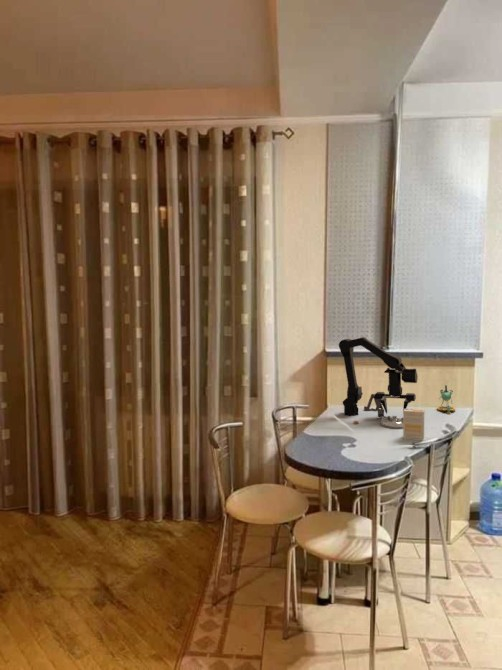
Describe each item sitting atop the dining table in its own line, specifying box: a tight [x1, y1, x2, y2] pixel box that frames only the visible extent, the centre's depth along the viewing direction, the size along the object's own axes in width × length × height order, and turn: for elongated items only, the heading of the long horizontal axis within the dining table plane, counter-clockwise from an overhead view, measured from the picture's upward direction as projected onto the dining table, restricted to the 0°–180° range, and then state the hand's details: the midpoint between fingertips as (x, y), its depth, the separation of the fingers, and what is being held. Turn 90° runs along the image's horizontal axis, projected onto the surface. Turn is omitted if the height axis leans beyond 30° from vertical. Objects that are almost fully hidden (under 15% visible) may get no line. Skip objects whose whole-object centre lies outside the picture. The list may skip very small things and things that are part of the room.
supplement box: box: [402, 408, 425, 441], centre depth 214 cm, size 8×5×13 cm, turn 65°
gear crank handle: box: [377, 408, 403, 430], centre depth 240 cm, size 20×12×4 cm, turn 14°
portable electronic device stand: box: [363, 393, 384, 412], centre depth 269 cm, size 9×8×8 cm
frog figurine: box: [436, 384, 457, 415], centre depth 269 cm, size 10×18×15 cm, turn 154°
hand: (395, 413), depth 247 cm, fingers open, 8 cm apart
